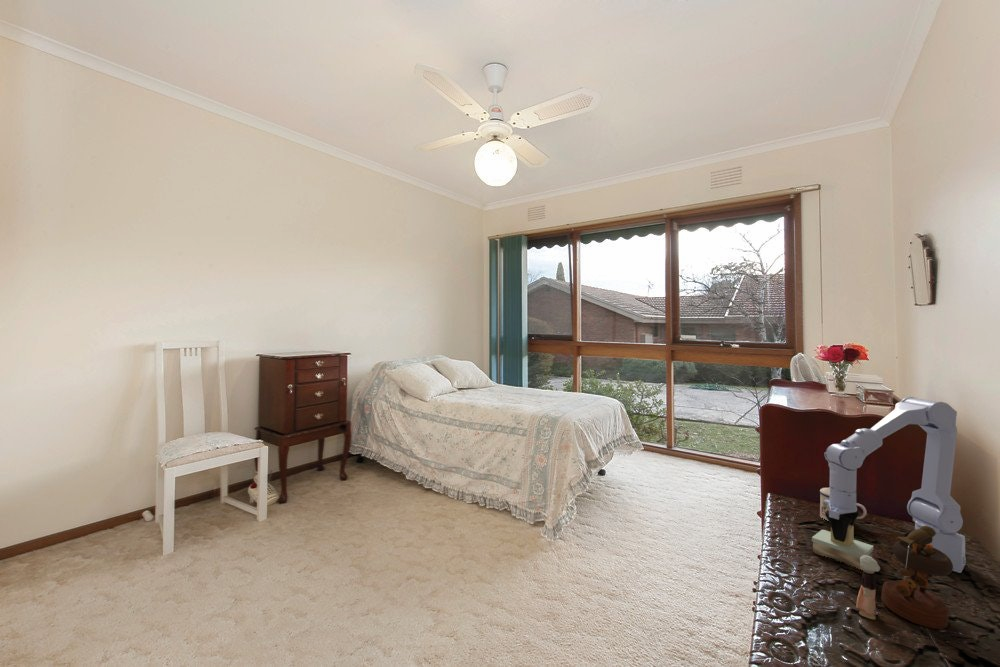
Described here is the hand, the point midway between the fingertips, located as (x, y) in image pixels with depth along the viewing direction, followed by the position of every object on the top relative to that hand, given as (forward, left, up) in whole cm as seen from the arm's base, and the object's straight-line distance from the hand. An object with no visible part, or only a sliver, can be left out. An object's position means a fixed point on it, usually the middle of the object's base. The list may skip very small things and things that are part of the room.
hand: (842, 537), depth 114 cm
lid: (0, 0, -2) cm, 2 cm away
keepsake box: (0, 0, -5) cm, 5 cm away
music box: (-17, +15, -5) cm, 23 cm away
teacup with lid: (+7, -27, -5) cm, 28 cm away
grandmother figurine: (-11, +25, -5) cm, 28 cm away
